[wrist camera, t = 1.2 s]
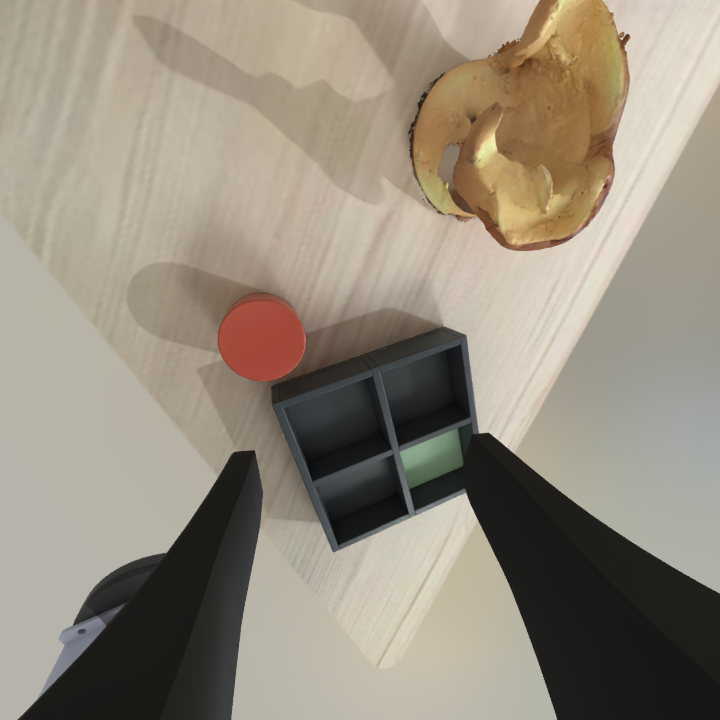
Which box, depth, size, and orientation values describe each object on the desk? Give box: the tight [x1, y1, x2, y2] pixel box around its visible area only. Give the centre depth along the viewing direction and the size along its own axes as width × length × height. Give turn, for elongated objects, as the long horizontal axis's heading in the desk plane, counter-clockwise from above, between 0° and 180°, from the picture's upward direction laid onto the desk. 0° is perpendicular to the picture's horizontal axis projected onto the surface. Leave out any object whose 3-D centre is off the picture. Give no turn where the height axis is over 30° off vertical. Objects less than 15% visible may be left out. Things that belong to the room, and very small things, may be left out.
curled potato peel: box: [408, 0, 630, 251], centre depth 15 cm, size 12×10×8 cm
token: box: [218, 293, 306, 381], centre depth 18 cm, size 4×4×3 cm
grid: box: [271, 327, 479, 552], centre depth 23 cm, size 13×13×3 cm
